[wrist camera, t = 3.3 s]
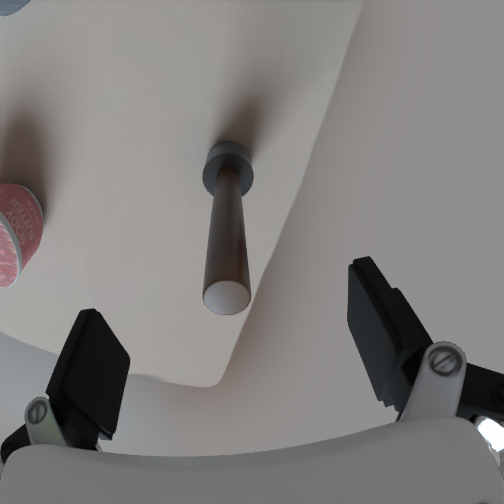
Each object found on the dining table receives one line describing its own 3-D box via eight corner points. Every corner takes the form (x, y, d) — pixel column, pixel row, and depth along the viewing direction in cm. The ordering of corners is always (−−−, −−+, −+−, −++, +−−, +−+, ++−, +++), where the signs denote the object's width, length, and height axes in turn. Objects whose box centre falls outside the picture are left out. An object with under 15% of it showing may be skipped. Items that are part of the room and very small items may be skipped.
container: (-7, 165, 23) (-49, 192, 17) (55, 182, 26) (14, 215, 19) (-4, 237, 28) (-36, 271, 22) (53, 259, 31) (24, 300, 24)
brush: (245, 136, 26) (273, 242, 10) (253, 176, 28) (286, 325, 12) (202, 146, 26) (156, 265, 10) (212, 185, 28) (192, 340, 12)
